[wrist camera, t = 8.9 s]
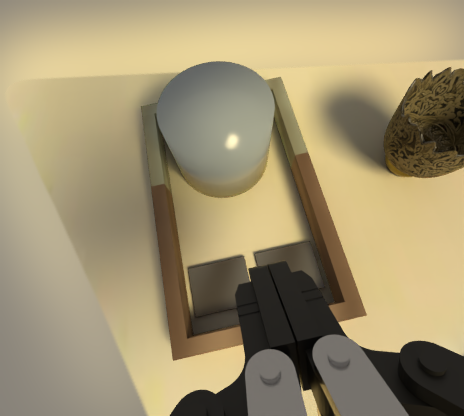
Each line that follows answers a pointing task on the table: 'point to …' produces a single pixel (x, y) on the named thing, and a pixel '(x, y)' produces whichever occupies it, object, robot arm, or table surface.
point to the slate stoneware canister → (218, 126)
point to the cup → (428, 127)
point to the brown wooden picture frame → (234, 270)
